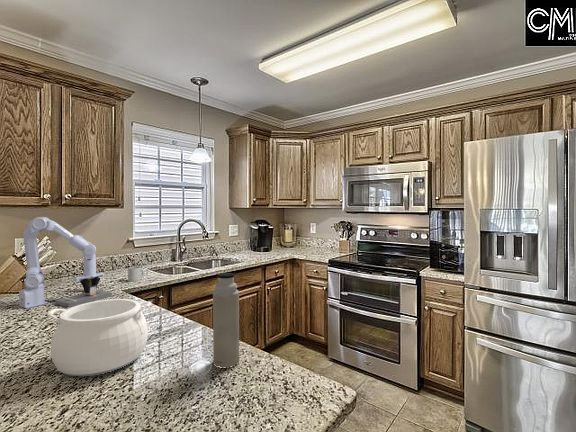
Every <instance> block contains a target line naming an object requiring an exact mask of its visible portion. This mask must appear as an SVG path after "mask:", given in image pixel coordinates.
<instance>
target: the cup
mask: <svg viewBox="0 0 576 432" xmlns="http://www.w3.org/2000/svg"><path fill="white" fill-rule="evenodd" d="M144 276H145V270H144V268H142V267H140V266H130V267H128V268H127V281H128V282H129V283H136V282H137V283H138V282H140V281H141V279H142V278H144Z"/></svg>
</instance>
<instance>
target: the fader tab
mask: <svg viewBox="0 0 576 432" xmlns="http://www.w3.org/2000/svg"><path fill="white" fill-rule="evenodd" d="M96 289H97V288H96V285H92V284H89V293H85V294H87V295H93V294H96Z"/></svg>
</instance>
